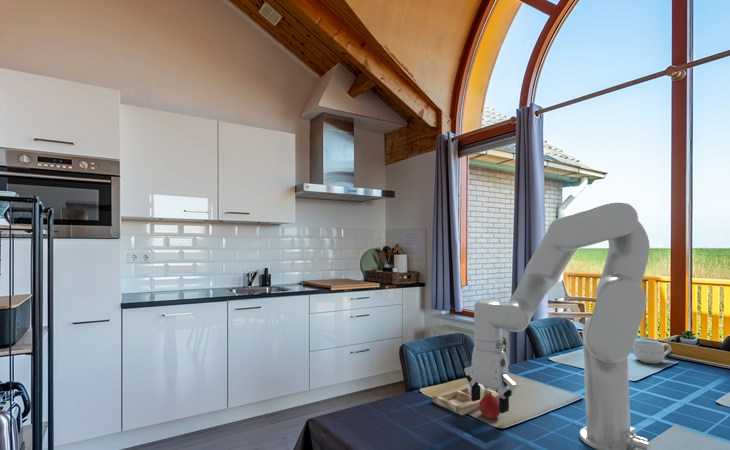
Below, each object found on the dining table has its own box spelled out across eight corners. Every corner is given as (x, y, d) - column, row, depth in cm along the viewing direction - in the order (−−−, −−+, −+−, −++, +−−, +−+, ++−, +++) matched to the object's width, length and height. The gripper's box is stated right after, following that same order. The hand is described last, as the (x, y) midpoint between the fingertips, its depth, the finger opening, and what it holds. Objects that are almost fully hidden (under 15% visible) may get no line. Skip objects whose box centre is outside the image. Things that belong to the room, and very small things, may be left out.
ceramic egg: (488, 398, 125) (488, 381, 125) (477, 402, 122) (477, 385, 122) (475, 393, 129) (475, 377, 129) (464, 397, 126) (464, 380, 126)
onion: (475, 418, 114) (474, 390, 114) (490, 414, 116) (490, 386, 116) (489, 426, 108) (488, 397, 109) (505, 422, 111) (504, 393, 111)
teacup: (638, 364, 161) (637, 344, 162) (629, 357, 172) (628, 338, 172) (679, 367, 157) (678, 346, 157) (667, 359, 167) (666, 340, 168)
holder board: (502, 404, 123) (501, 394, 123) (462, 419, 113) (461, 408, 113) (471, 392, 133) (471, 382, 133) (432, 405, 123) (432, 395, 123)
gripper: (523, 349, 108) (524, 413, 107) (473, 337, 122) (474, 393, 122) (506, 354, 104) (507, 420, 103) (456, 340, 118) (457, 399, 117)
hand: (489, 405), depth 112 cm, fingers open, 9 cm apart
